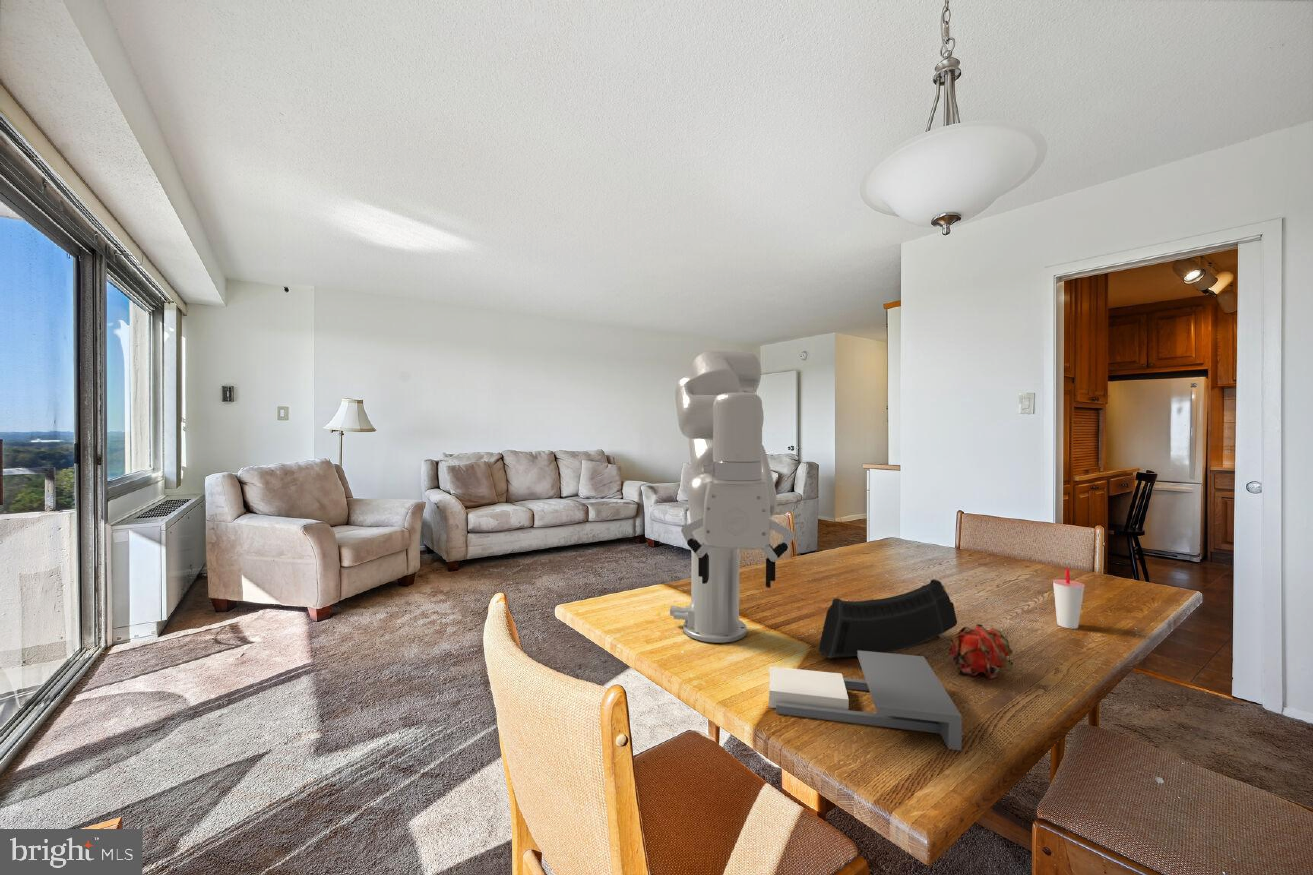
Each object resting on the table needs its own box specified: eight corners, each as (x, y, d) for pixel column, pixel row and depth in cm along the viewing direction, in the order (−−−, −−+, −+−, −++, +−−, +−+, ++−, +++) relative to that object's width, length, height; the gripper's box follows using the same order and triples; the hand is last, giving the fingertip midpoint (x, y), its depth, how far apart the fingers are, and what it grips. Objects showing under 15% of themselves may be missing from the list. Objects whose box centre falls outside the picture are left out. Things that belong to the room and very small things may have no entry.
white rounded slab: (769, 707, 78) (769, 690, 78) (769, 681, 86) (769, 666, 86) (848, 716, 76) (848, 699, 75) (841, 689, 83) (841, 673, 83)
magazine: (819, 614, 91) (943, 547, 102) (806, 608, 94) (928, 544, 105) (841, 706, 93) (960, 630, 104) (828, 697, 96) (945, 625, 107)
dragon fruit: (1007, 676, 91) (963, 701, 86) (966, 634, 97) (922, 655, 92) (1036, 649, 86) (991, 674, 81) (991, 606, 92) (946, 627, 87)
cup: (1046, 623, 112) (1047, 566, 111) (1059, 619, 114) (1061, 563, 114) (1075, 632, 107) (1077, 573, 107) (1089, 627, 109) (1090, 569, 109)
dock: (775, 726, 73) (776, 695, 73) (776, 668, 90) (776, 642, 90) (961, 750, 68) (962, 716, 68) (923, 683, 85) (923, 656, 85)
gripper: (677, 473, 81) (677, 586, 81) (796, 476, 77) (795, 594, 77) (685, 470, 88) (685, 573, 88) (793, 472, 84) (793, 580, 84)
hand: (736, 583), depth 83 cm, fingers open, 9 cm apart
